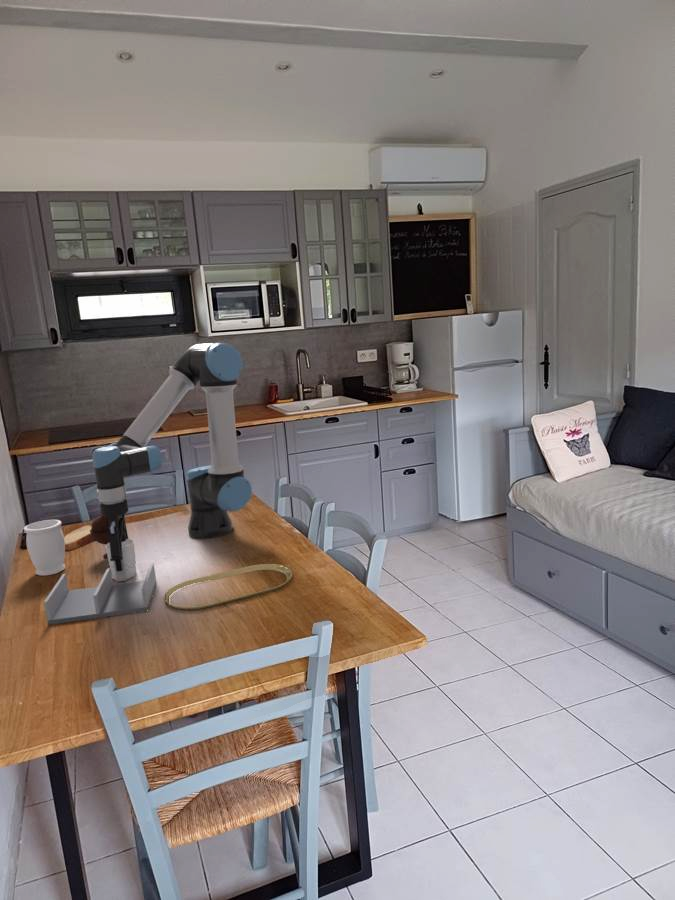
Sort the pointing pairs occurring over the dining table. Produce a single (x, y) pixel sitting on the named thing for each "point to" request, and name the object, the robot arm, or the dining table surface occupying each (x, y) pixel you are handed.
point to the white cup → (128, 556)
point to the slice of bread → (78, 537)
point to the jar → (46, 546)
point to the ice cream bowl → (100, 531)
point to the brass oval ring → (227, 574)
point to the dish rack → (99, 599)
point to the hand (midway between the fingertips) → (124, 574)
